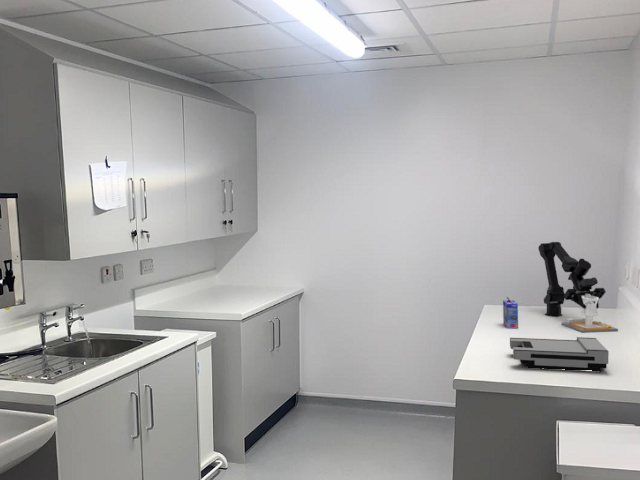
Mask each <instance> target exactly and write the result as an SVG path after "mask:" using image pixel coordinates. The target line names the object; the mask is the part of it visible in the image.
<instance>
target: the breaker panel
mask: <svg viewBox="0 0 640 480" xmlns="http://www.w3.org/2000/svg"><path fill="white" fill-rule="evenodd" d="M585 320H586V317H578V318H577V317H576V318H566V322H565V321H564V322H561V325H562V326H564V327H566V328H569V329H572V330H574V331H577V332H580V333H584V334H585V333H604V332H606V333H607V332H619V328H616V327H613V326H612V325H608V324H607V323H602V322H601V321H596V320H594V321H593V320H592V326H585Z"/></svg>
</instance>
